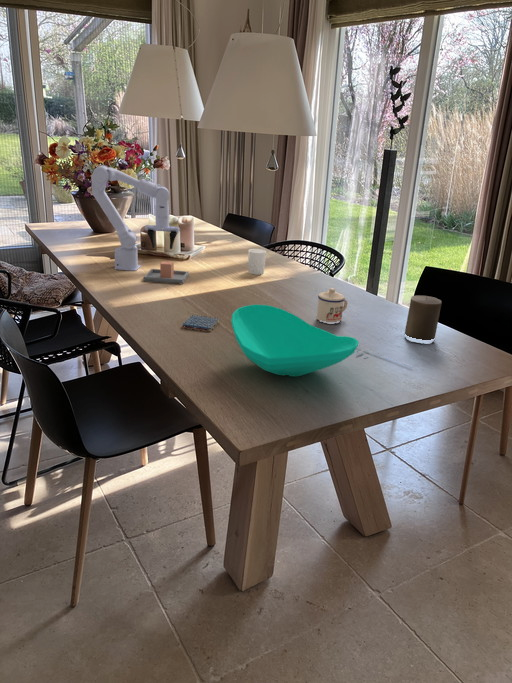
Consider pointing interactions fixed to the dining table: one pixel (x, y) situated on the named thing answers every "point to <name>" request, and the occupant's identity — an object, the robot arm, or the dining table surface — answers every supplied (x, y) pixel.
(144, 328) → the dining table surface
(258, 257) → the white cup
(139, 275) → the dining table surface
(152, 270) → the grey tray
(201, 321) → the woven mat
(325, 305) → the teacup with lid
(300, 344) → the table top decor
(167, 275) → the tan block
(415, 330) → the pillar candle
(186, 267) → the dining table surface
